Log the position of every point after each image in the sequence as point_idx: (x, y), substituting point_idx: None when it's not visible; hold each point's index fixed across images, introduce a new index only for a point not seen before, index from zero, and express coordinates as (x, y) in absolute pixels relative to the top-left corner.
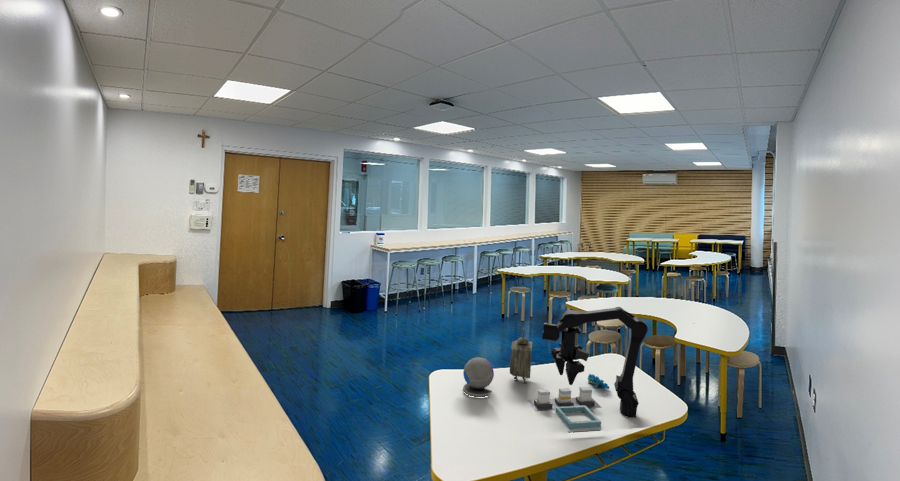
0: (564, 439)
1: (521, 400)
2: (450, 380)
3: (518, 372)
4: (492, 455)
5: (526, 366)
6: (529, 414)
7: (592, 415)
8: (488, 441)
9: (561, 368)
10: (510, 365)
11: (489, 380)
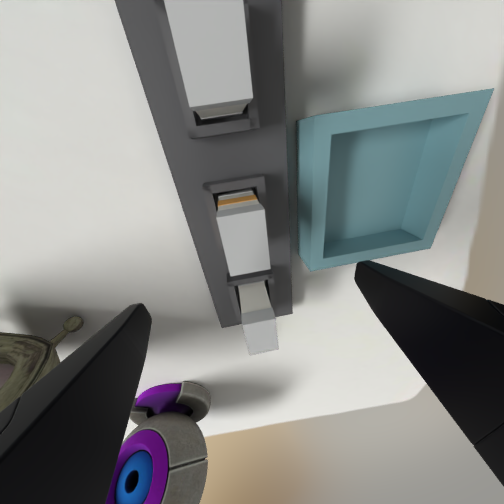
0: (423, 252)
1: (202, 329)
2: None
3: None
4: (407, 364)
5: None
6: (285, 315)
7: (424, 117)
8: (370, 371)
9: (107, 389)
10: None
11: (191, 444)
